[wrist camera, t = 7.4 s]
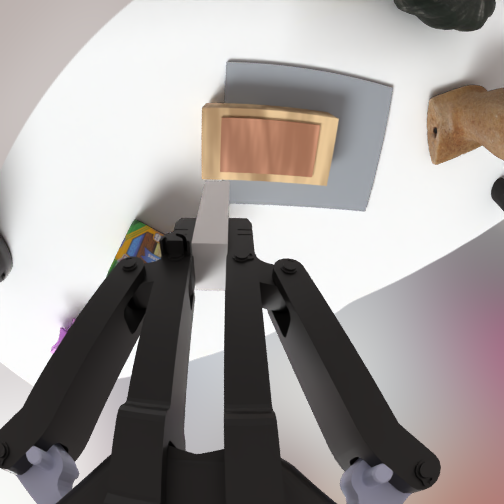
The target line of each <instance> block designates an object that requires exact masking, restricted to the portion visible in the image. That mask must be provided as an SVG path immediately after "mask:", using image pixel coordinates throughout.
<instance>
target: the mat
mask: <svg viewBox="0 0 504 504" xmlns="http://www.w3.org/2000/svg"><path fill="white" fill-rule="evenodd" d="M392 90H393V88H392V87H388V86H385V85H381V84H378V83H374V82H370V81H366V80H362V79H358V78H354V77H350V76H345V75H341V74H336V73H330V72H325V71H319V70H313V69H307V68H300V67H292V66H284V65H274V64H262V63H246V62H227V63H226V81H225V102H224V103H236V104H256V105H270V106H281V107H291V108H300V109H308V110H315V111H322V112H328V113H330V114H332V115H333V116H335V117H337V118H338V119H339V121H338V127H337V133H336V139H335V145H334V150H333V156H332V161H331V167H330V172H329V177H328V182H327V186H321V185H310V184H297V183H283V182H267V181H247V180H222V181H230V187H229V203H237V204H263V205H283V206H300V207H316V208H329V209H342V210H354V211H365V210H366V207H367V203H368V199H369V196H370V192H371V188H372V185H373V181H374V177H375V173H376V169H377V165H378V161H379V156H380V152H381V148H382V143H383V139H384V134H385V129H386V124H387V119H388V114H389V108H390V102H391V96H392Z"/></svg>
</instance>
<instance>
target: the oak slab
mask: <svg viewBox="0 0 504 504" xmlns="http://www.w3.org/2000/svg"><path fill="white" fill-rule="evenodd" d="M338 121H339V119H338V118H337V117H335V116H333V115H332V114H330V113H328V112H322V111H315V110H308V109H300V108H291V107H281V106H270V105H256V104H236V103H206V104H205V105H204V106H203V107H202V179H217V180H247V181H267V182H283V183H297V184H310V185H321V186H327V182H328V177H329V172H330V167H331V161H332V156H333V150H334V145H335V139H336V133H337V127H338Z"/></svg>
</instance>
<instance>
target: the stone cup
mask: <svg viewBox="0 0 504 504" xmlns="http://www.w3.org/2000/svg"><path fill="white" fill-rule="evenodd" d="M427 115H428V116H427V130H428V132H427V135H428V145H429V152H430V156H431V161H432V163H433V164H435V165H438V164H440V163H443V162H446V161H448V160H450V159H453V158H456V157H458V156H460V155H461V154H465V153H467V152H469V151H472V150H474V149H476V148H478V147H480V146H482V145H483V146H484V147H485V148H486V149H487V150H489V151H490V152H491V153H492V154H494V155H495V156H496V157H498V158H500V159H502V160H504V88H499V89H495V90H491V91H488V92H487V90H486V89H485V88H484V87H482V86H478V85H467V86H463V87H460V88H457V89H454V90H451V91H448V92H446V93H443V94H440V95H437V96H435V97H433V98H431V99H430V100H429V107H428V112H427Z"/></svg>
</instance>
